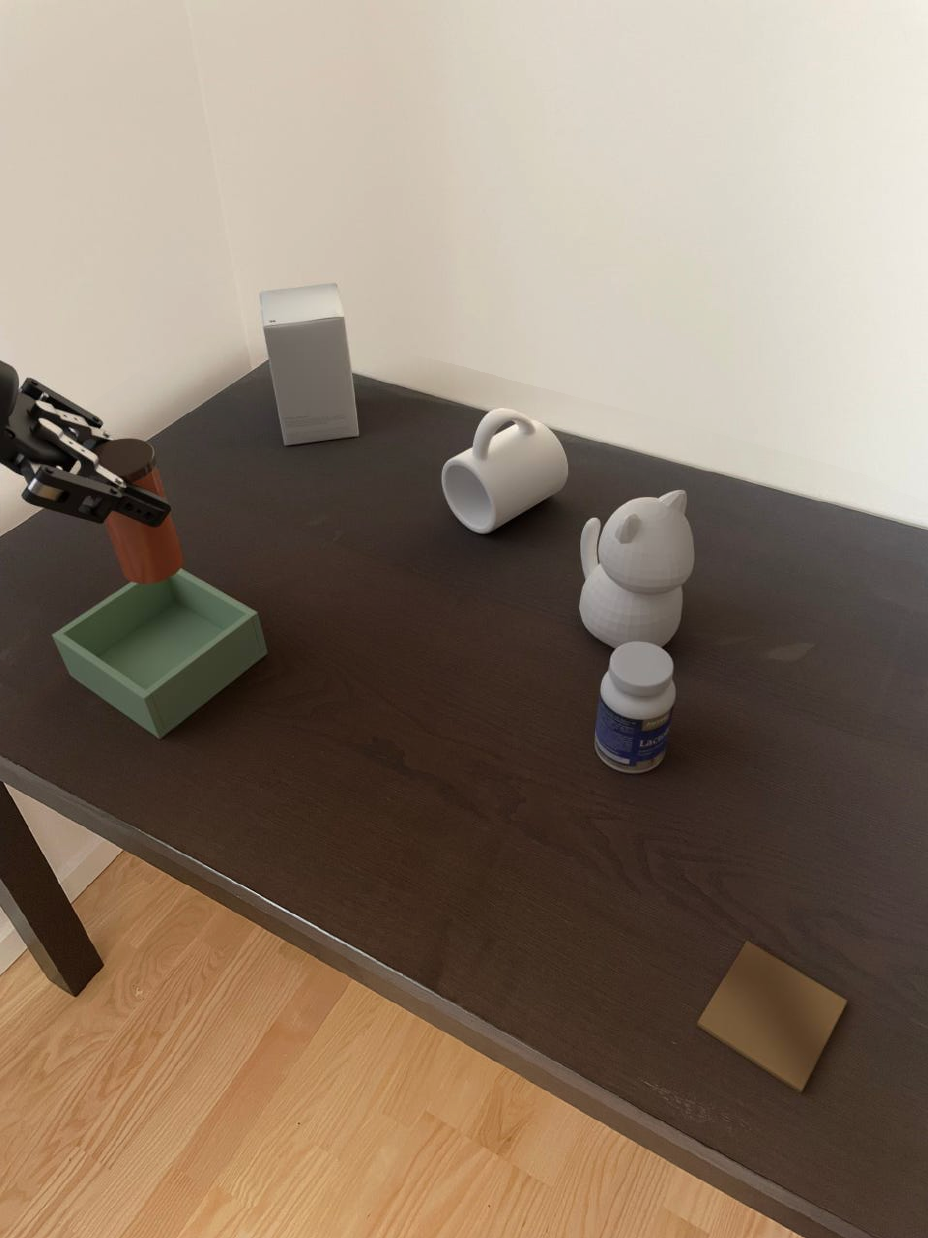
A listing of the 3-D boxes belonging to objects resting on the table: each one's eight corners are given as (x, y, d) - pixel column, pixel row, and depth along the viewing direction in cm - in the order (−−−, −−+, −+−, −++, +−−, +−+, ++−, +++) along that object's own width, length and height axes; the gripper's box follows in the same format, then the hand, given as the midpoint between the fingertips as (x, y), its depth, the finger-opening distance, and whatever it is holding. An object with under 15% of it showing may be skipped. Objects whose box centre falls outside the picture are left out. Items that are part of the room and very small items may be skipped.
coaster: (800, 1094, 59) (802, 1091, 58) (696, 1025, 62) (697, 1022, 62) (845, 1004, 63) (847, 1000, 62) (745, 943, 66) (747, 940, 66)
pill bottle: (646, 787, 76) (660, 702, 69) (581, 757, 78) (588, 672, 71) (677, 738, 79) (693, 652, 72) (614, 711, 81) (623, 625, 74)
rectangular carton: (361, 437, 113) (345, 316, 103) (284, 447, 112) (260, 326, 102) (353, 397, 119) (338, 280, 109) (280, 407, 118) (257, 289, 108)
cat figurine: (631, 686, 83) (648, 551, 73) (540, 607, 91) (543, 475, 80) (706, 641, 87) (732, 506, 77) (612, 569, 94) (624, 438, 84)
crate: (159, 739, 81) (143, 698, 77) (70, 675, 86) (51, 634, 83) (267, 653, 88) (257, 612, 84) (178, 599, 93) (165, 558, 90)
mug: (567, 504, 102) (572, 404, 94) (496, 548, 97) (495, 446, 89) (512, 472, 107) (513, 374, 99) (442, 512, 102) (436, 412, 94)
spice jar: (148, 593, 74) (111, 485, 67) (107, 569, 76) (67, 461, 69) (198, 559, 76) (168, 452, 70) (157, 536, 79) (124, 430, 72)
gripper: (-50, 391, 55) (205, 509, 67) (-54, 293, 65) (168, 410, 76) (-110, 491, 57) (147, 588, 69) (-105, 381, 67) (119, 482, 79)
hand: (157, 494), depth 72 cm, fingers closed on spice jar, 5 cm apart
